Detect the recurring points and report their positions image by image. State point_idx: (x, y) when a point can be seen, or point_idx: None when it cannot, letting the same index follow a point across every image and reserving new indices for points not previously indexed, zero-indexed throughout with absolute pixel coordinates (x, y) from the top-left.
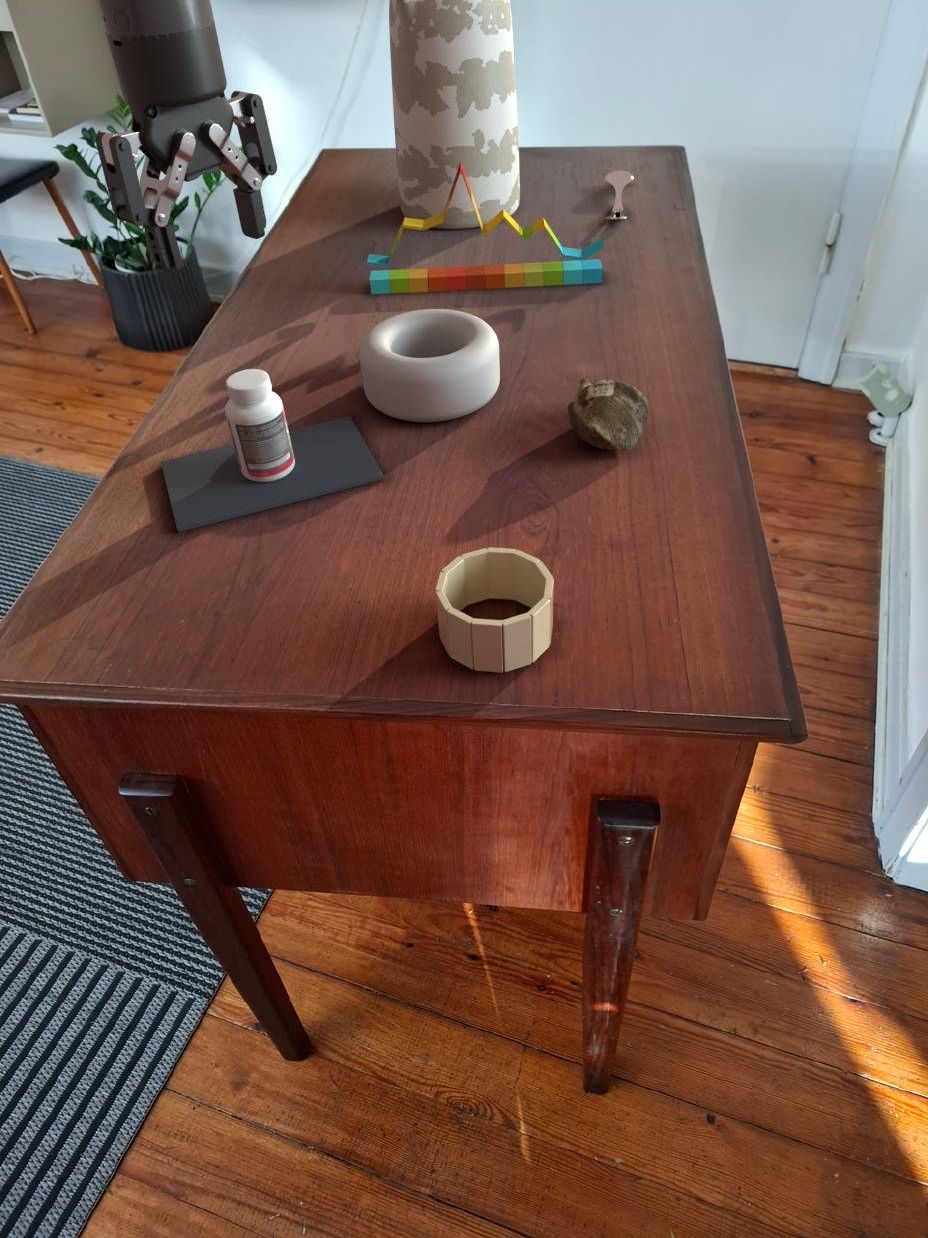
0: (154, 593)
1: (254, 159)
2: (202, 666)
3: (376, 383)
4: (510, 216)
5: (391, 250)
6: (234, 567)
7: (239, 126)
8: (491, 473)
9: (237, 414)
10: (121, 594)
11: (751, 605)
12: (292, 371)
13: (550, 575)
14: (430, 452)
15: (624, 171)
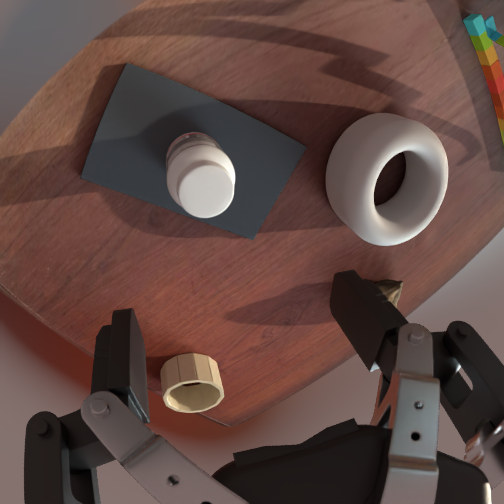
0: (40, 231)
1: (453, 362)
2: (48, 306)
3: (340, 177)
4: None
5: (501, 36)
6: (97, 246)
7: (495, 408)
8: (302, 283)
9: (172, 193)
10: (21, 216)
11: (275, 400)
12: (340, 28)
13: (218, 403)
14: (302, 235)
15: None
